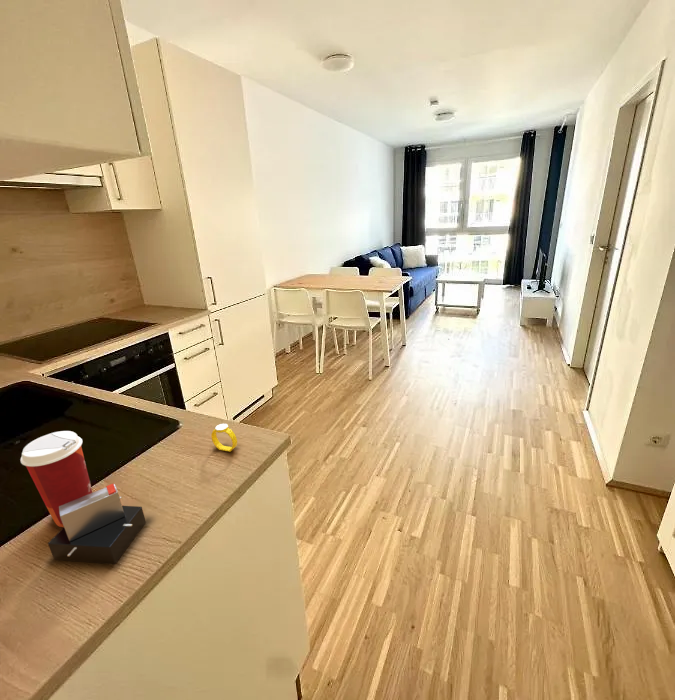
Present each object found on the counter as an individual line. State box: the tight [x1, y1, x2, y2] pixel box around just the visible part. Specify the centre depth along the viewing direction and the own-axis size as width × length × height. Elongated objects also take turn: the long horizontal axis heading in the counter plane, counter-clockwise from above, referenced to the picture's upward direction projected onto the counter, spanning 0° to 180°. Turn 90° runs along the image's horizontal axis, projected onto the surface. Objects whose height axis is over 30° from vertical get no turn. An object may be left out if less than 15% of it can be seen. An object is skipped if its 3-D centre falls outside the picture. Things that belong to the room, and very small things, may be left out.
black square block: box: [47, 495, 147, 565], centre depth 58 cm, size 12×12×4 cm
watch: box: [210, 423, 238, 452], centre depth 80 cm, size 6×3×6 cm, turn 69°
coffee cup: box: [19, 430, 93, 528], centre depth 61 cm, size 8×8×15 cm
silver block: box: [59, 483, 125, 541], centre depth 56 cm, size 8×3×5 cm, turn 130°
